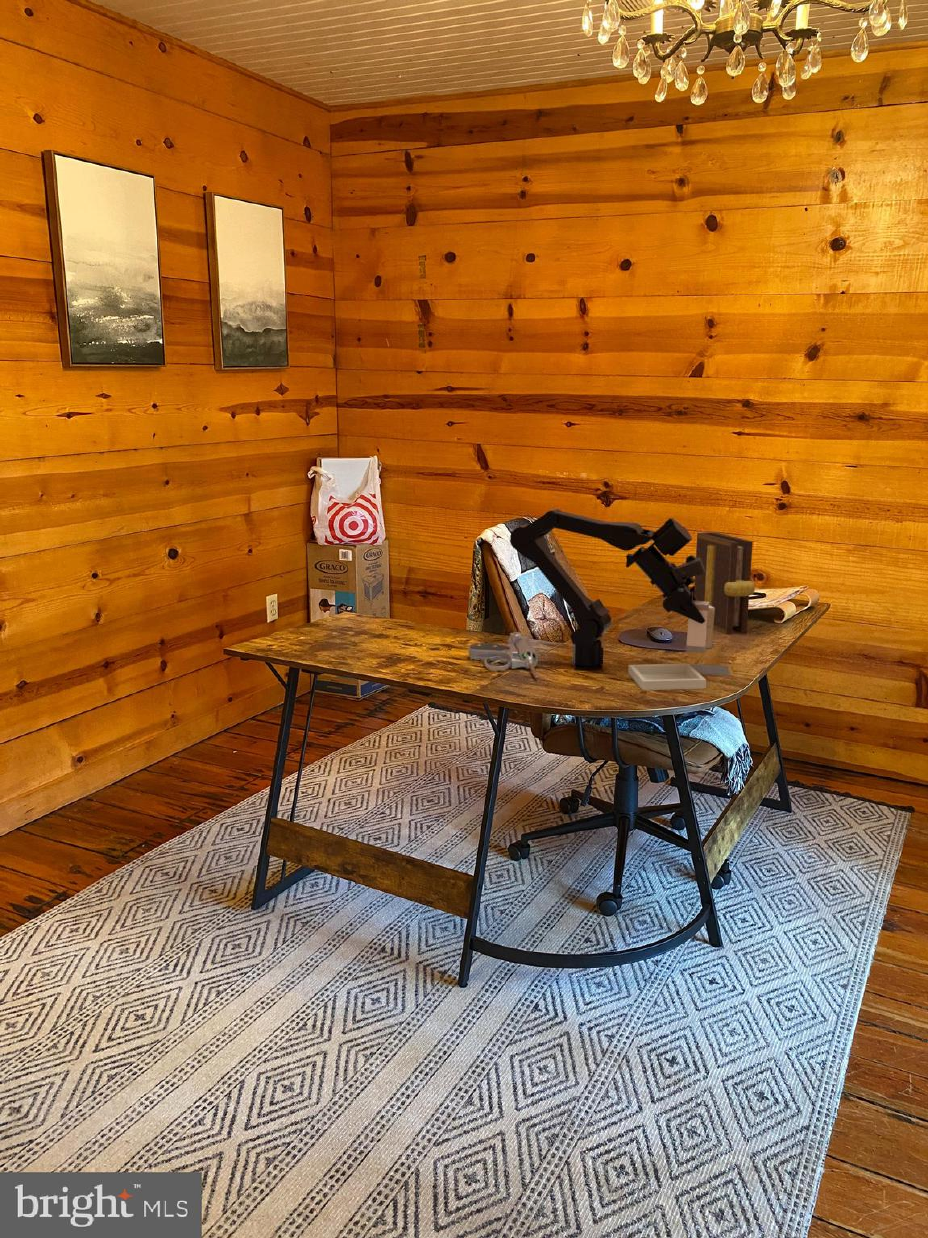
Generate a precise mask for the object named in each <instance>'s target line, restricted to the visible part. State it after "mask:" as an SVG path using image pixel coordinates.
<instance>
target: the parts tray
mask: <svg viewBox="0 0 928 1238" xmlns="http://www.w3.org/2000/svg"><path fill="white" fill-rule="evenodd" d="M627 674H628V676H629V677H631V679H632V681H634V682H635V683H636V684H637V686H638V687H639V688H640V689H641V690H642V691H669V690H671V691H672V690H704V689H705V690H706V689H707V679H706V678H705V677H704V676H703V674H699V673H698V672H697V671H696V670H695V669H694V668H693V667H692V666H690V665H689V663H669V664H668V663H661V664H659V663H657V664H656V663H655V664H652V663H651V664H650V663H649V664H628V672H627Z"/></svg>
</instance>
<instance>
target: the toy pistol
mask: <svg viewBox="0 0 928 1238" xmlns="http://www.w3.org/2000/svg"><path fill="white" fill-rule="evenodd" d="M467 648H468V656H469V657H470V658H471V659H474V660H473V661H475V660H481V661H480V662H483V663H484V666H485V667H486V668H487V669H489V670H493V671H499V670H501V671H502V670H506V669H508V668H509V669H510V668H511V669H512V670H514V669H518V668H525V669H527V670H530V671H531V672H532V674H533V677H534V678H535V679H539V677H538V674H537V672H536V669H535V667H536V666H537V665H538V661H539V657H538V654H537V653H536V651H535V649H534V648H533V646H532V643H531V641H530V636H527V635H523V634H522V633H521V632H520V631H515V632H510V637H509V638H508V644H503V643H491V642H476V643H472V644H470V645H469V646H468V647H467ZM470 658H469V659H470ZM471 659H470V660H471ZM488 661H494V662H490V664H489V662H488ZM498 662H500V663H499V664H503V663H504V665H495V664H497V663H498Z"/></svg>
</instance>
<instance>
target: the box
mask: <svg viewBox="0 0 928 1238" xmlns="http://www.w3.org/2000/svg"><path fill="white" fill-rule="evenodd" d="M714 611H715V608H714V607H712V606H710V605H709V608H708V619H707V632H706V649H712V647H713V637H714V636H713V634H714V629H713V624H714Z"/></svg>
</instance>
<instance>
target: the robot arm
mask: <svg viewBox="0 0 928 1238" xmlns="http://www.w3.org/2000/svg"><path fill="white" fill-rule="evenodd" d="M554 529H558V530H562V531H563V530H564V531H567V532H570V533H575V534H579V535H583V536H586V537H587V536H588V537H591V538H594V539H600V540H601V541H603V542H605V543H607V544H608V545H610V546H612V547H615V548H617V549H619V550H622V551H623V552H624V551H626V552H629V551H633V550H634V549H635V548H637V547H639V548H638V549H637V550H636V551H634V552H633V553H627V554H626V555H625V557H626V563H625V567H626V568H630V567H631V566H632V565H633V564H636V566H637V567H638V568H639V569H640V570H641V571H642V573H644V575H645V576H646V577H647V578H648V579H649V581H650V582H649V583H650V584H651V585H652V586H655V587H656V588H657V589H658V590H659V591H660V592H661V593H662V595H661V596H662V597H663V600H662V607H663V609H664V610H665V611H666V612H667V613H668V614H669V613H671V612H674V613H677V614H678V615H681V616H684V617H686V618H690V619H692V620H694V621H696V622H698V623H701V624H702V623H704V622H705V619H704V618H703V616H702V614H701V613H700V611H699V610H698V608H697V607H696V605H695V604H694V602H693V601H698V600H697V598H696V597H695V585H694V583H695V576H696V575H698V576H699V575H702V574H704V573H705V568H704V565H703V562H702V560H701V558H696V555H693V554H691V555H687V556H686V558H685V562H682V563H681V564H679V565H676V564H675V563H674V562H671V561H670V562H669V560H667V558H666V556H667V555H669V556H670V557H673V556H675V555H676V554H677V553H678V552H679V551H680V550H682V549H683V548H684V547H685V546H687V544H689V543H690V542H691V541H692V540H693V539H692V535H691V533H690V532H689V531H688V529H687V528H686V527H685V526H683V525H682V524H680V523H679V522H678V521H677V520H675V518H673V517H670V518H668V519H667V520H666V521H665V522H664V524H663V525H662V526H660V527H659V528H658V529H657V530H656V531H655V530H650V529H645V528H643V527H642V525H641V524H639V523H637V522H633V521H632V522H628V521H605V520H600V519H595V518H592V517H587V516H583V515H580V514H574V513H571V512H567V511H562V510H561V509H558V508H555V509H554V508H553V509H551V510H548V511H546V512H545V513H544V514H543V515H542V516H540V517H538V518H537V519H535V520H534V521H531V523H526V524H524V525H521V526H518V527H516V528H514V529H513V530H512V531H511V533H510V537H509V538H510V539H509V543H510V545H511V547H512V548H514V550H515V551H517V552H518V553H519V554H520V555H521V556H522V557H524V558H525V559H526V560H528V561H530V562H532V563H533V564H534V565H535V566H536V567H537V569H539V572H541V573H542V575H544V577H545V578H546V580H547V582H549V584H551V586H552V588H554V589H555V591H556V592H557V593H558V595H560V597H561V598H562V599H563V600H564V602H565V603H566V604H567V606H569V608H570V610H571V612H572V614H573V618H574V620H575V623H576V625H577V627H578V628H577V629H575V630H574V632H572V633H570V636H569V637H570V640H571V643H572V660H570V663H571V665H572V667H573V668H574V669H575V670H602V669H603V667H604V666H603V664H604V653H605V651H604V647H603V646H602V641H601V640H600V639H601V638H602V637H603V635H604V634H605V633H606V632H607V631H609V629H610V627H611V625H612V617H611V615H610V612H611V611H610V610H609V609H608V608H606V606H604V604H603V602H602V600H601V599H600V598H597V599H596V600H594V601H593V600H592V599H590V598H589V597H587V596H586V594H585V593H584V592H583V591H582V590H581V588H580V587H579V586H578V585H577V583H576V582H575V581H574V579H572V577H571V576H570V574H569V573H568V572H567V571H566V570H565V568H563V566H562V564H561V563H560V562H559V561H558V559H556V557H555V556H554V555H553V554H552V552H551V551H550V549H549V545H548V542H547V540H546V538H545V536H546V535H547V534H549V533H550V532H551V531H553V530H554ZM652 541H653V542H652ZM649 542H652V543H650V544H649V546H647V547H645V546H643V545H646V544H648V543H649ZM691 584H692V585H693V586H691ZM689 586H691V587H689Z"/></svg>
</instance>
